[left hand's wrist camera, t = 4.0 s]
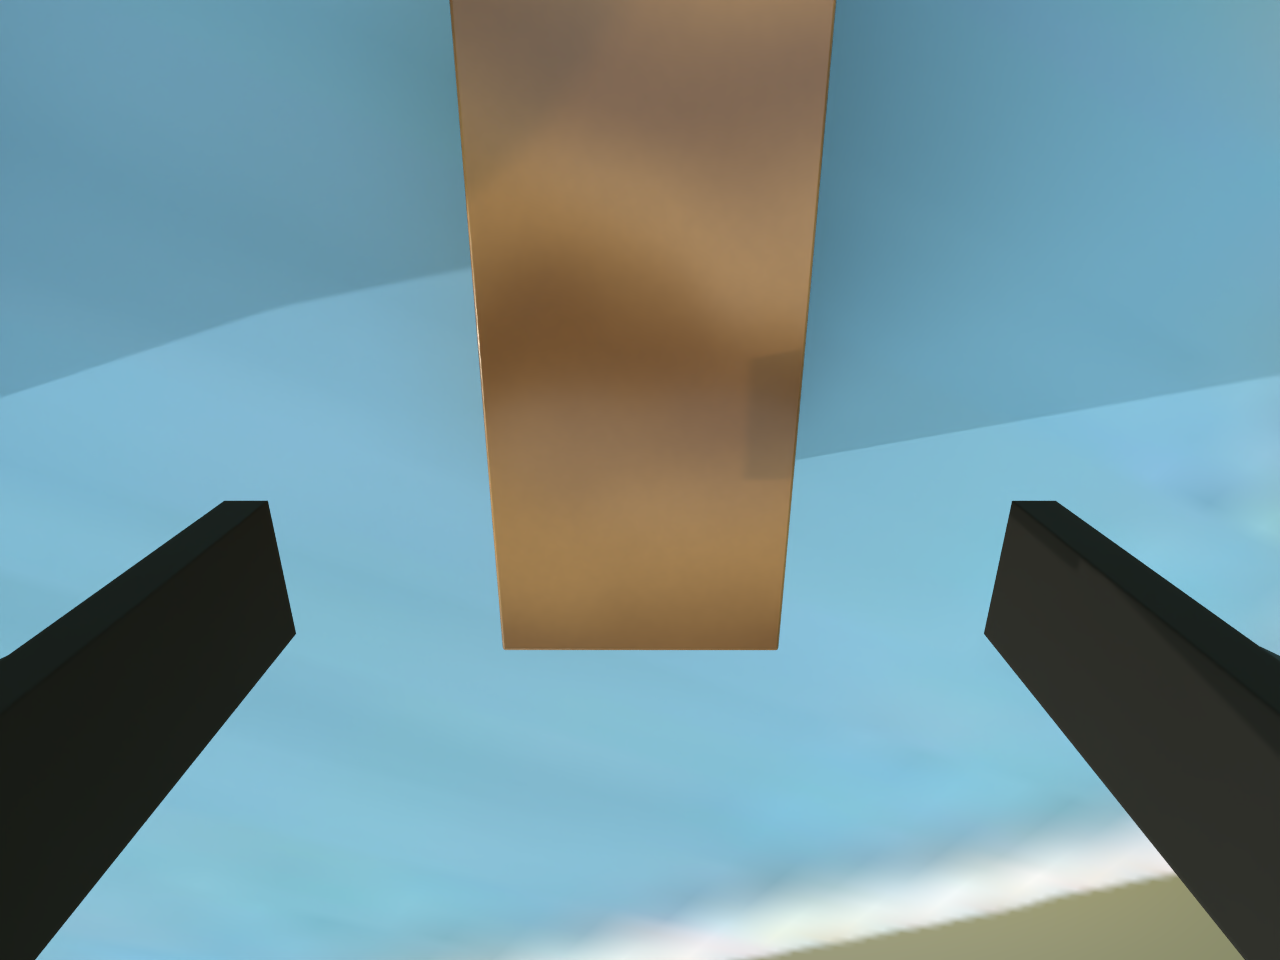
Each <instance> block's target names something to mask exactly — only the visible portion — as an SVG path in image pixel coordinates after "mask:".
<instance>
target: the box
mask: <svg viewBox="0 0 1280 960" xmlns="http://www.w3.org/2000/svg"><path fill="white" fill-rule="evenodd" d="M449 1H450V14H451V26H452V38H453V50H454V62H455V74H456V86H457V98H458V110H459V123H460V135H461V147H462V159H463V171H464V183H465V195H466V207H467V219H468V232H469V244H470V256H471V268H472V280H473V292H474V304H475V316H476V328H477V341H478V353H479V365H480V377H481V389H482V401H483V413H484V425H485V437H486V450H487V462H488V474H489V486H490V498H491V510H492V522H493V534H494V546H495V559H496V571H497V583H498V595H499V607H500V619H501V631H502V643H503V649H504V650H777V649H778V644H779V633H780V622H781V611H782V600H783V589H784V578H785V567H786V555H787V544H788V533H789V522H790V511H791V500H792V489H793V477H794V466H795V455H796V444H797V433H798V422H799V411H800V399H801V388H802V377H803V366H804V355H805V344H806V333H807V321H808V310H809V299H810V288H811V277H812V266H813V255H814V243H815V232H816V221H817V210H818V199H819V188H820V177H821V165H822V154H823V143H824V132H825V121H826V110H827V99H828V87H829V76H830V65H831V54H832V43H833V32H834V21H835V9H836V0H449Z"/></svg>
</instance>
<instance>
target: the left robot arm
mask: <svg viewBox="0 0 1280 960" xmlns="http://www.w3.org/2000/svg"><path fill="white" fill-rule="evenodd" d="M295 634H296V631H295V627H294V622H293V617H292V613H291V608H290V603H289V598H288V594H287V589H286V584H285V580H284V575H283V570H282V566H281V561H280V556H279V551H278V547H277V542H276V537H275V533H274V528H273V523H272V518H271V514H270V509H269V504H268V501H223V502H222V503H221V504H219V505H218V506H216V507H215V508H214V509H212V510H211V511H209V512H208V513H207V514H205V515H204V516H202V517H201V518H200V519H198V520H197V521H195V522H194V523H193V524H191V525H190V526H188V527H187V528H186V529H184V530H183V531H181V532H180V533H179V534H177V535H176V536H174V537H173V538H172V539H170V540H169V541H167V542H166V543H165V544H163V545H162V546H160V547H159V548H158V549H156V550H155V551H153V552H152V553H151V554H149V555H148V556H146V557H145V558H144V559H142V560H141V561H139V562H138V563H137V564H135V565H134V566H132V567H131V568H130V569H128V570H127V571H125V572H124V573H123V574H121V575H120V576H119V577H117V578H116V579H114V580H113V581H112V582H110V583H109V584H107V585H106V586H105V587H103V588H102V589H100V590H99V591H98V592H96V593H95V594H93V595H92V596H91V597H89V598H88V599H86V600H85V601H84V602H82V603H81V604H79V605H78V606H77V607H75V608H74V609H72V610H71V611H70V612H68V613H67V614H65V615H64V616H63V617H61V618H60V619H58V620H57V621H56V622H54V623H53V624H51V625H50V626H49V627H47V628H46V629H44V630H43V631H42V632H40V633H39V634H37V635H36V636H35V637H33V638H32V639H30V640H29V641H28V642H26V643H25V644H23V645H22V646H21V647H19V648H18V649H16V650H15V651H14V652H12V653H11V654H9V655H8V656H6V657H4V658H1V659H0V960H35V959H36V958H37V957H38V955H39V954H40V953H41V952H42V950H43V949H44V948H45V947H46V945H47V944H48V943H49V942H50V940H51V939H52V938H53V937H54V935H55V934H56V933H57V932H58V930H59V929H60V928H61V927H62V925H63V924H64V923H65V922H66V920H67V919H68V918H69V917H70V915H71V914H72V913H73V912H74V910H75V909H76V908H77V907H78V906H79V904H80V903H81V902H82V901H83V899H84V898H85V897H86V896H87V894H88V893H89V892H90V891H91V889H92V888H93V887H94V886H95V884H96V883H97V882H98V881H99V879H100V878H101V877H102V876H103V874H104V873H105V872H106V871H107V869H108V868H109V867H110V866H111V864H112V863H113V862H114V861H115V859H116V858H117V857H118V856H119V854H120V853H121V852H122V851H123V849H124V848H125V847H126V846H127V844H128V843H129V842H130V841H131V839H132V838H133V837H134V836H135V834H136V833H137V832H138V831H139V829H140V828H141V827H142V826H143V824H144V823H145V822H146V821H147V819H148V818H149V817H150V816H151V814H152V813H153V812H154V811H155V809H156V808H157V807H158V806H159V804H160V803H161V802H162V801H163V799H164V798H165V797H166V796H167V794H168V793H169V792H170V791H171V789H172V788H173V787H174V786H175V784H176V783H177V782H178V781H179V779H180V778H181V777H182V776H183V774H184V773H185V772H186V771H187V769H188V768H189V767H190V766H191V764H192V763H193V762H194V761H195V759H196V758H197V757H198V756H199V754H200V753H201V752H202V751H203V749H204V748H205V747H206V746H207V744H208V743H209V742H210V741H211V739H212V738H213V737H214V736H215V734H216V733H217V732H218V731H219V729H220V728H221V727H222V726H223V724H224V723H225V722H226V721H227V719H228V718H229V717H230V716H231V714H232V713H233V712H234V711H235V709H236V708H237V707H238V706H239V704H240V703H241V702H242V701H243V699H244V698H245V697H246V696H247V694H248V693H249V692H250V691H251V689H252V688H253V687H254V686H255V684H256V683H257V682H258V681H259V679H260V678H261V677H262V676H263V674H264V673H265V672H266V671H267V669H268V668H269V667H270V666H271V664H272V663H273V662H274V661H275V659H276V658H277V657H278V656H279V654H280V653H281V652H282V651H283V649H284V648H285V647H286V646H287V644H288V643H289V642H290V641H291V639H292V638H293V637H294V636H295ZM984 634H985V636H986V637H987V638H988V639H989V641H990V642H991V643H992V644H993V646H994V647H995V648H996V649H997V651H998V652H999V653H1000V654H1001V656H1002V657H1003V658H1004V659H1005V661H1006V662H1007V663H1008V664H1009V666H1010V667H1011V668H1012V669H1013V671H1014V672H1015V673H1016V674H1017V676H1018V677H1019V678H1020V679H1021V681H1022V682H1023V683H1024V684H1025V686H1026V687H1027V688H1028V689H1029V691H1030V692H1031V693H1032V694H1033V696H1034V697H1035V698H1036V699H1037V701H1038V702H1039V703H1040V704H1041V706H1042V707H1043V708H1044V709H1045V711H1046V712H1047V713H1048V714H1049V716H1050V717H1051V718H1052V719H1053V721H1054V722H1055V723H1056V724H1057V726H1058V727H1059V728H1060V729H1061V731H1062V732H1063V733H1064V734H1065V736H1066V737H1067V738H1068V739H1069V741H1070V742H1071V743H1072V744H1073V746H1074V747H1075V748H1076V749H1077V751H1078V752H1079V753H1080V754H1081V756H1082V757H1083V758H1084V759H1085V761H1086V762H1087V763H1088V764H1089V766H1090V767H1091V768H1092V769H1093V771H1094V772H1095V773H1096V774H1097V776H1098V777H1099V778H1100V779H1101V781H1102V782H1103V783H1104V784H1105V786H1106V787H1107V788H1108V789H1109V791H1110V792H1111V793H1112V794H1113V796H1114V797H1115V798H1116V799H1117V801H1118V802H1119V803H1120V804H1121V806H1122V807H1123V808H1124V809H1125V811H1126V812H1127V813H1128V814H1129V816H1130V817H1131V818H1132V819H1133V821H1134V822H1135V823H1136V824H1137V826H1138V827H1139V828H1140V829H1141V831H1142V832H1143V833H1144V834H1145V836H1146V837H1147V838H1148V839H1149V841H1150V842H1151V843H1152V844H1153V846H1154V847H1155V848H1156V849H1157V851H1158V852H1159V853H1160V854H1161V856H1162V857H1163V858H1164V859H1165V861H1166V862H1167V863H1168V864H1169V866H1170V867H1171V868H1172V869H1173V871H1174V872H1175V873H1176V874H1177V876H1178V877H1179V878H1180V879H1181V881H1182V882H1183V883H1184V884H1185V886H1186V887H1187V888H1188V889H1189V891H1190V892H1191V893H1192V894H1193V895H1194V897H1195V898H1196V899H1197V901H1198V902H1199V903H1200V904H1201V906H1202V907H1203V908H1204V909H1205V911H1206V912H1207V913H1208V914H1209V915H1210V917H1211V918H1212V919H1213V920H1214V922H1215V923H1216V924H1217V925H1218V927H1219V928H1220V929H1221V930H1222V932H1223V933H1224V934H1225V935H1226V937H1227V938H1228V939H1229V940H1230V942H1231V943H1232V944H1233V945H1234V947H1235V948H1236V949H1237V950H1238V952H1239V953H1240V954H1241V955H1242V957H1243V958H1244V959H1245V960H1280V656H1279V655H1277V654H1275V653H1273V652H1270V651H1268V650H1266V649H1264V648H1262V647H1259V646H1258V645H1257V644H1255V643H1254V642H1252V641H1251V640H1250V639H1248V638H1247V637H1245V636H1244V635H1243V634H1241V633H1240V632H1238V631H1237V630H1236V629H1234V628H1233V627H1231V626H1230V625H1229V624H1227V623H1226V622H1224V621H1223V620H1222V619H1220V618H1219V617H1217V616H1216V615H1215V614H1213V613H1212V612H1210V611H1209V610H1208V609H1206V608H1205V607H1203V606H1202V605H1201V604H1199V603H1198V602H1196V601H1195V600H1194V599H1192V598H1191V597H1189V596H1188V595H1187V594H1185V593H1184V592H1182V591H1181V590H1180V589H1178V588H1177V587H1175V586H1174V585H1173V584H1171V583H1170V582H1168V581H1167V580H1166V579H1164V578H1163V577H1161V576H1160V575H1159V574H1157V573H1156V572H1155V571H1153V570H1152V569H1150V568H1149V567H1148V566H1146V565H1145V564H1143V563H1142V562H1141V561H1139V560H1138V559H1136V558H1135V557H1134V556H1132V555H1131V554H1129V553H1128V552H1127V551H1125V550H1124V549H1122V548H1121V547H1120V546H1118V545H1117V544H1115V543H1114V542H1113V541H1111V540H1110V539H1108V538H1107V537H1106V536H1104V535H1103V534H1101V533H1100V532H1099V531H1097V530H1096V529H1094V528H1093V527H1092V526H1090V525H1089V524H1087V523H1086V522H1085V521H1083V520H1082V519H1080V518H1079V517H1078V516H1076V515H1075V514H1073V513H1072V512H1071V511H1069V510H1068V509H1066V508H1065V507H1064V506H1062V505H1061V504H1059V503H1058V502H1057V501H1012V504H1011V509H1010V514H1009V518H1008V523H1007V528H1006V533H1005V537H1004V542H1003V547H1002V551H1001V556H1000V561H999V566H998V570H997V575H996V580H995V584H994V589H993V594H992V598H991V603H990V608H989V613H988V617H987V622H986V627H985V631H984Z"/></svg>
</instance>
